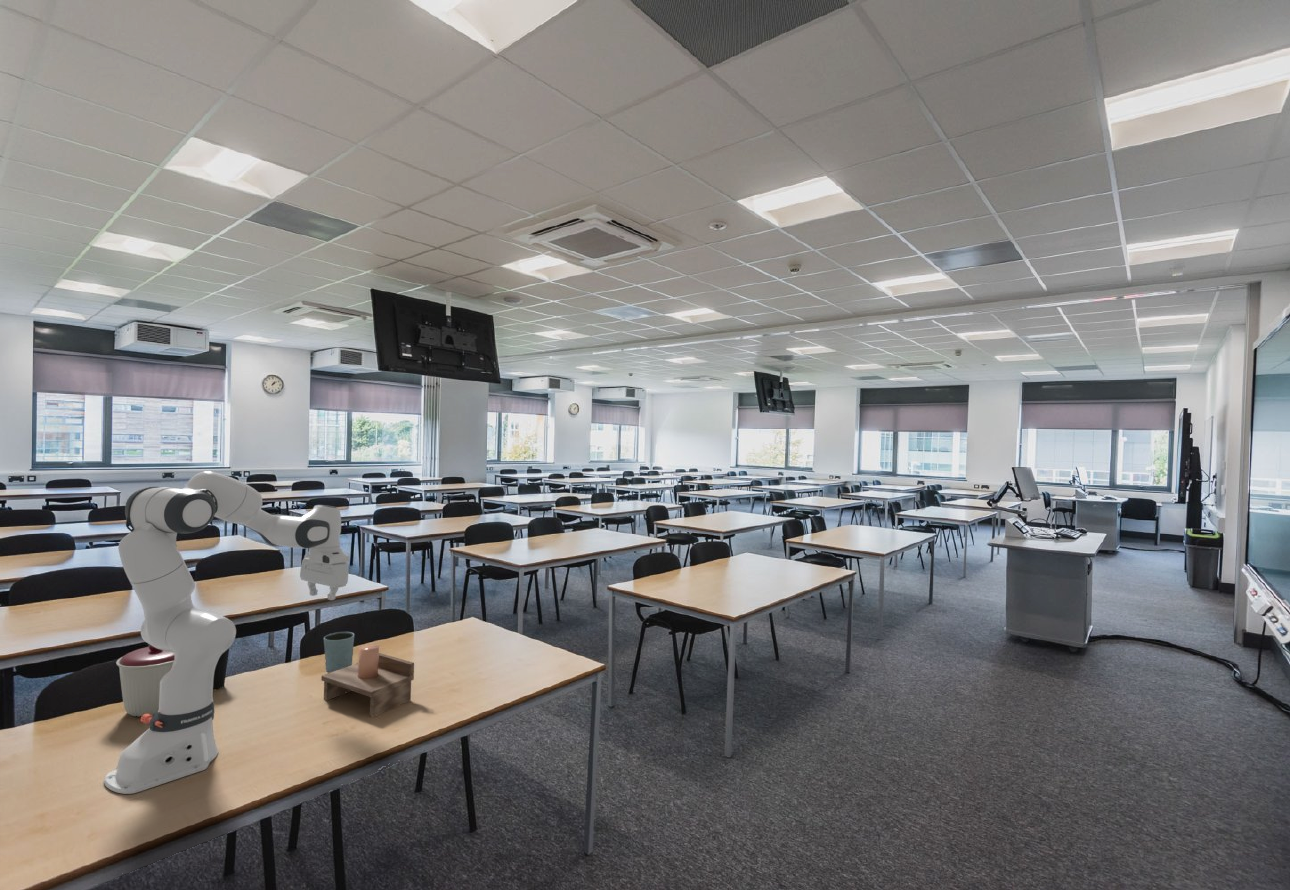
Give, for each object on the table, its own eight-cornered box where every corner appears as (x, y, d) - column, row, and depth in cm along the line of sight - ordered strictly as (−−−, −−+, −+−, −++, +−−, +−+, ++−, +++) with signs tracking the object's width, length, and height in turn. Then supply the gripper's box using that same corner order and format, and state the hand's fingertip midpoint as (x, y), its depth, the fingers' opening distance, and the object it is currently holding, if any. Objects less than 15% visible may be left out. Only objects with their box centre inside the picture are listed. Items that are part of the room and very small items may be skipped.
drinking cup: (214, 693, 194) (216, 632, 194) (195, 690, 195) (197, 630, 195) (234, 684, 201) (236, 625, 201) (216, 681, 203) (218, 623, 203)
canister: (112, 708, 181) (114, 639, 181) (186, 692, 194) (188, 627, 194) (116, 729, 169) (119, 655, 169) (195, 710, 181) (198, 642, 181)
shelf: (370, 718, 180) (371, 679, 180) (320, 700, 191) (321, 663, 191) (413, 699, 194) (414, 662, 194) (364, 683, 205) (365, 648, 205)
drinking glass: (352, 671, 215) (353, 638, 215) (320, 674, 212) (321, 641, 212) (354, 661, 225) (355, 630, 225) (324, 664, 221) (325, 632, 221)
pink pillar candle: (365, 680, 189) (366, 652, 189) (353, 676, 191) (354, 648, 191) (382, 674, 194) (383, 646, 194) (370, 670, 197) (371, 643, 197)
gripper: (295, 552, 195) (293, 594, 194) (334, 559, 185) (332, 604, 184) (314, 550, 200) (312, 591, 200) (353, 557, 190) (350, 600, 190)
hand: (322, 597), depth 192 cm, fingers open, 8 cm apart
